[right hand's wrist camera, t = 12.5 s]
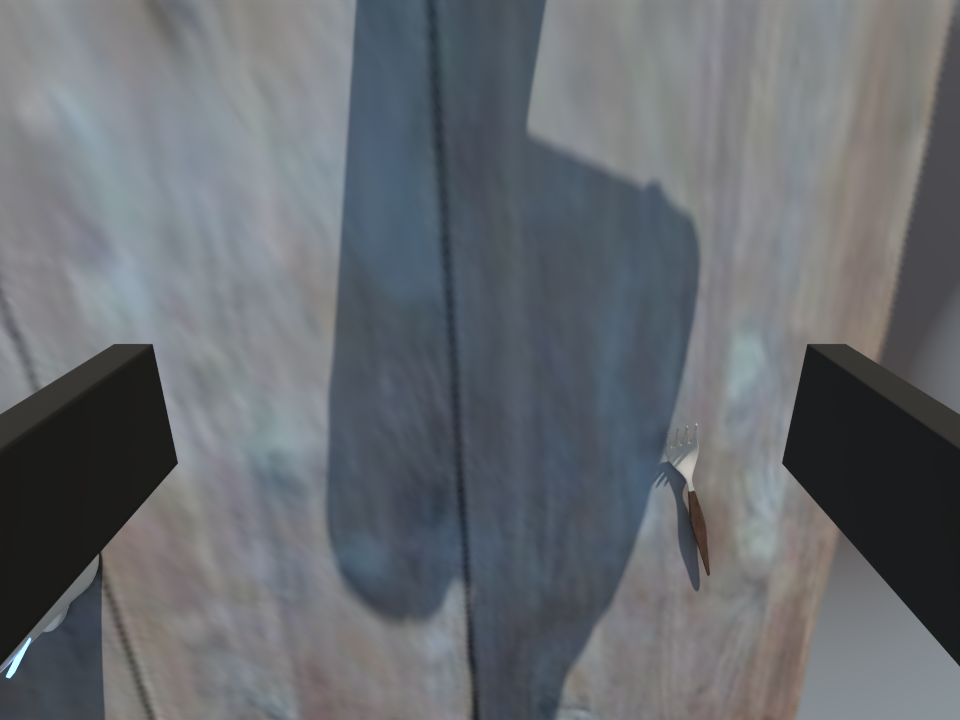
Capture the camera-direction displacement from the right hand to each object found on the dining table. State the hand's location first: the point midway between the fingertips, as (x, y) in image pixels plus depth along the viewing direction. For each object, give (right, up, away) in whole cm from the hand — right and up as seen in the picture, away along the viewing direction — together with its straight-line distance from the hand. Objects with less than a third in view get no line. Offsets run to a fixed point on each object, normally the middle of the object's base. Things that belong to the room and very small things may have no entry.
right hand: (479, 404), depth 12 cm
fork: (+18, -11, +38) cm, 43 cm away
